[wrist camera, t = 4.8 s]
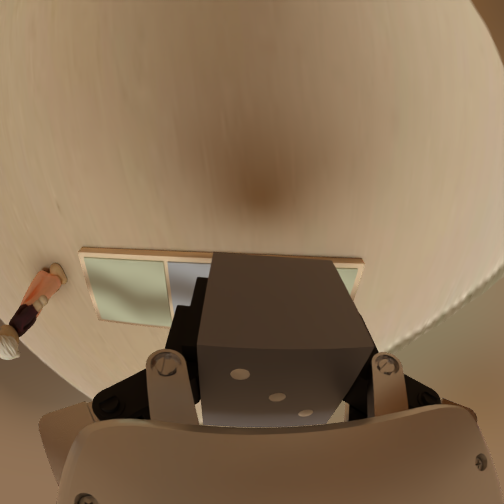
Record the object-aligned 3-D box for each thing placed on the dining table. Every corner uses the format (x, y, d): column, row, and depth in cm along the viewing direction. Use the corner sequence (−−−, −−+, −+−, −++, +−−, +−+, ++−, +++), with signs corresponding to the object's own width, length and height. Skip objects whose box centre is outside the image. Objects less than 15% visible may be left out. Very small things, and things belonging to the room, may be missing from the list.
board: (82, 247, 24) (77, 252, 23) (361, 258, 25) (365, 264, 24) (101, 314, 28) (98, 321, 27) (340, 325, 30) (342, 332, 29)
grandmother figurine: (52, 249, 24) (-16, 325, 13) (75, 272, 25) (16, 356, 14) (34, 284, 26) (-17, 354, 15) (55, 304, 28) (9, 378, 16)
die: (213, 252, 11) (196, 347, 7) (331, 260, 11) (375, 348, 7) (211, 338, 13) (203, 426, 9) (307, 341, 14) (326, 425, 9)
